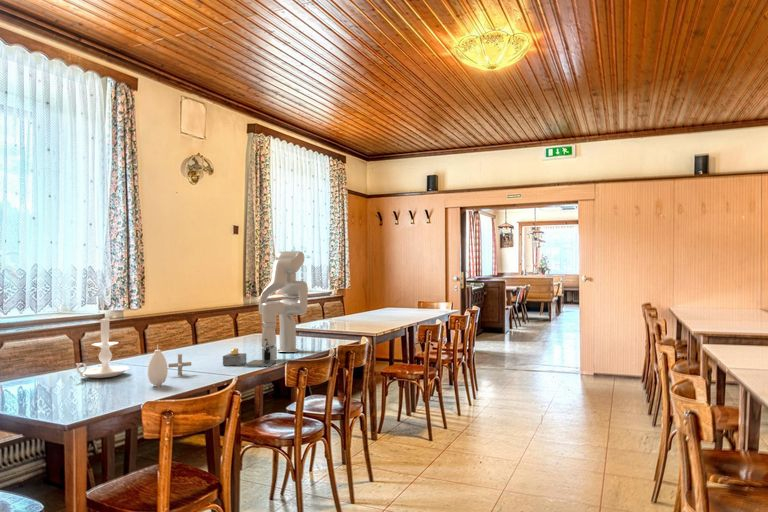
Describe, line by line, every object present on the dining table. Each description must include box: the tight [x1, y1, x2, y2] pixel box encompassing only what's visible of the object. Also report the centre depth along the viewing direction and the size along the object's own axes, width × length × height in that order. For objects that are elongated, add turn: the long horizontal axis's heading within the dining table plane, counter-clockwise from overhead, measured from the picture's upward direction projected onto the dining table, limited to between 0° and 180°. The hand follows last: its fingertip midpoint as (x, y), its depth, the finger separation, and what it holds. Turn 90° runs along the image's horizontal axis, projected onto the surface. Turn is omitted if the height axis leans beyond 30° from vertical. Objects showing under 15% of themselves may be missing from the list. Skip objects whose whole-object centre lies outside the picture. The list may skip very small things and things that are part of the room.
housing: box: [261, 346, 278, 360], centre depth 282 cm, size 6×6×7 cm
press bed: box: [244, 359, 277, 367], centre depth 269 cm, size 12×12×2 cm
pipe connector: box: [167, 353, 192, 376], centre depth 245 cm, size 10×10×10 cm
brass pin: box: [230, 348, 239, 355], centre depth 272 cm, size 4×4×5 cm
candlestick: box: [75, 317, 130, 379], centre depth 244 cm, size 21×25×28 cm
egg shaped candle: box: [147, 343, 169, 387], centre depth 223 cm, size 8×8×18 cm
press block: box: [222, 352, 247, 366], centre depth 272 cm, size 9×9×5 cm
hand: (269, 358), depth 282 cm, fingers closed on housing, 6 cm apart
